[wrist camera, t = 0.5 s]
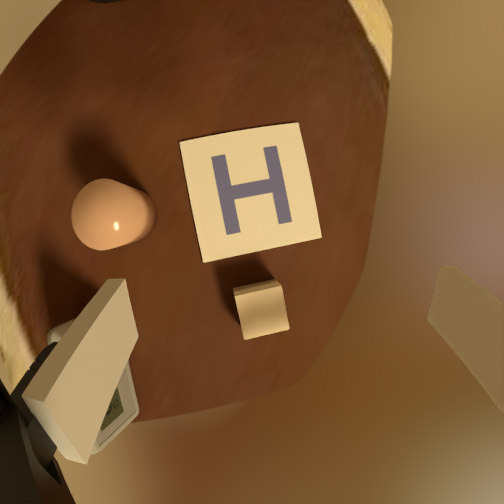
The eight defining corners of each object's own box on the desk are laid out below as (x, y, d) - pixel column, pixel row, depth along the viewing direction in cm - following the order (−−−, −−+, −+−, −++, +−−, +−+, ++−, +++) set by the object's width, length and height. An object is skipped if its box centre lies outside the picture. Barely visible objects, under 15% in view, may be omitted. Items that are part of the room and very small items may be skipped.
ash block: (232, 287, 36) (234, 296, 32) (274, 278, 36) (281, 285, 32) (241, 327, 36) (244, 339, 32) (281, 317, 37) (289, 329, 33)
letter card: (179, 142, 33) (179, 142, 33) (297, 123, 34) (298, 122, 34) (203, 262, 35) (203, 262, 34) (320, 237, 36) (321, 237, 36)
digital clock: (140, 416, 36) (124, 466, 25) (81, 401, 35) (54, 445, 24) (143, 308, 35) (118, 341, 24) (76, 295, 33) (34, 320, 23)
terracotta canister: (104, 196, 33) (66, 189, 23) (151, 183, 33) (127, 170, 23) (114, 246, 33) (79, 256, 23) (161, 235, 34) (141, 241, 24)
